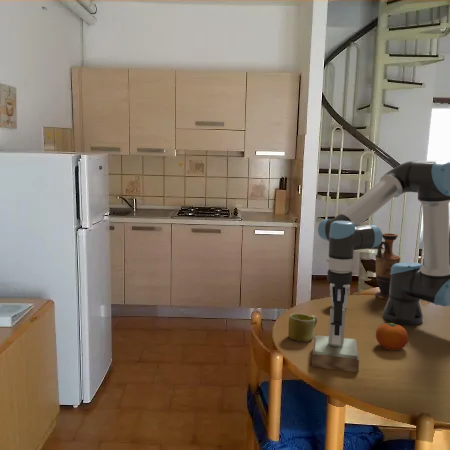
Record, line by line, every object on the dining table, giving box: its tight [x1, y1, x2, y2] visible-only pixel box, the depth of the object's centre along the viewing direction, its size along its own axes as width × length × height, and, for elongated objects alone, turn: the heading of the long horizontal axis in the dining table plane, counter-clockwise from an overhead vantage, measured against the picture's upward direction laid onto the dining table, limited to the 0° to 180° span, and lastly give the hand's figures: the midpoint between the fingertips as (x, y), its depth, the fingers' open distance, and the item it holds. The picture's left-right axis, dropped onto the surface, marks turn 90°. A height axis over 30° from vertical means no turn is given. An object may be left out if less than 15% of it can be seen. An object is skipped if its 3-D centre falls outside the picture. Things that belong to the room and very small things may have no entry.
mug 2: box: [329, 283, 351, 309], centre depth 196 cm, size 11×8×10 cm
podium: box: [311, 334, 360, 373], centre depth 146 cm, size 14×14×5 cm
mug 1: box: [287, 313, 318, 343], centre depth 164 cm, size 12×10×10 cm
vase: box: [375, 232, 401, 300], centre depth 210 cm, size 11×11×30 cm
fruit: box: [375, 322, 409, 351], centre depth 156 cm, size 11×10×8 cm
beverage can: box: [328, 306, 346, 347], centre depth 146 cm, size 5×5×12 cm
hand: (336, 339), depth 146 cm, fingers open, 6 cm apart
